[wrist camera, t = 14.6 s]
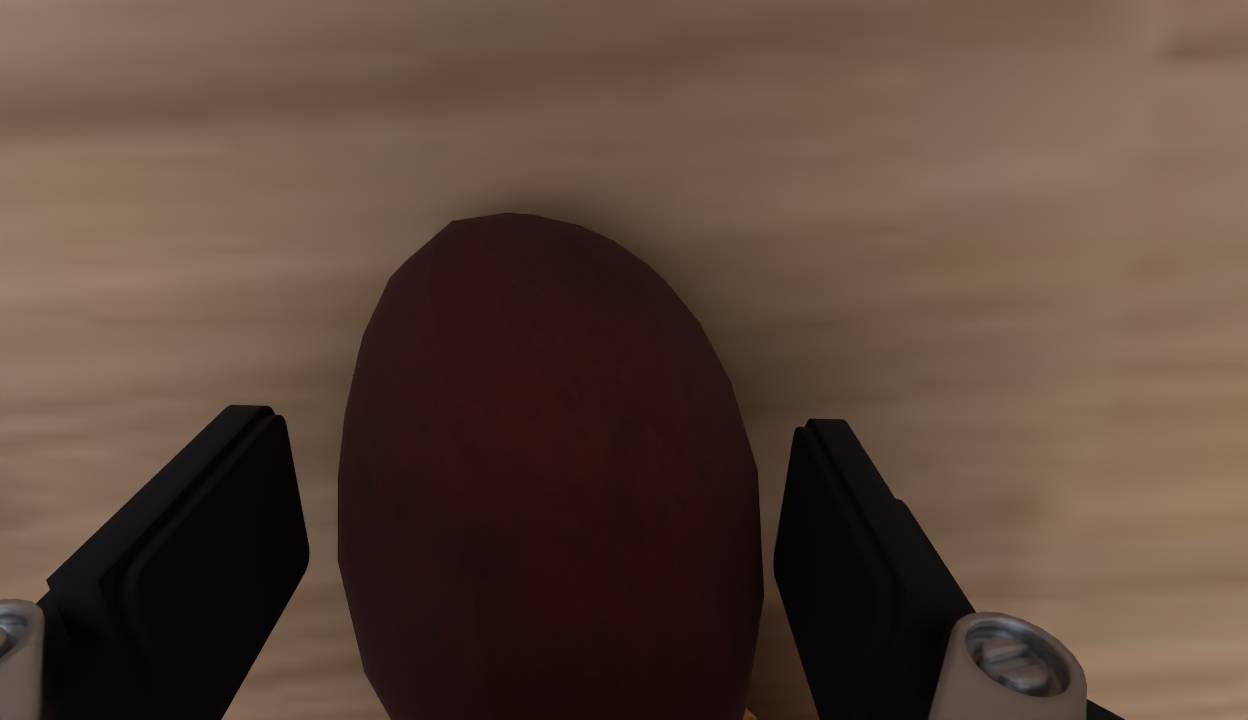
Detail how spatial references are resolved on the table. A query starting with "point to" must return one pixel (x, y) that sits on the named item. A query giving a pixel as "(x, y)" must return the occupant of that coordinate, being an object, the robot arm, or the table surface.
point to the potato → (546, 488)
